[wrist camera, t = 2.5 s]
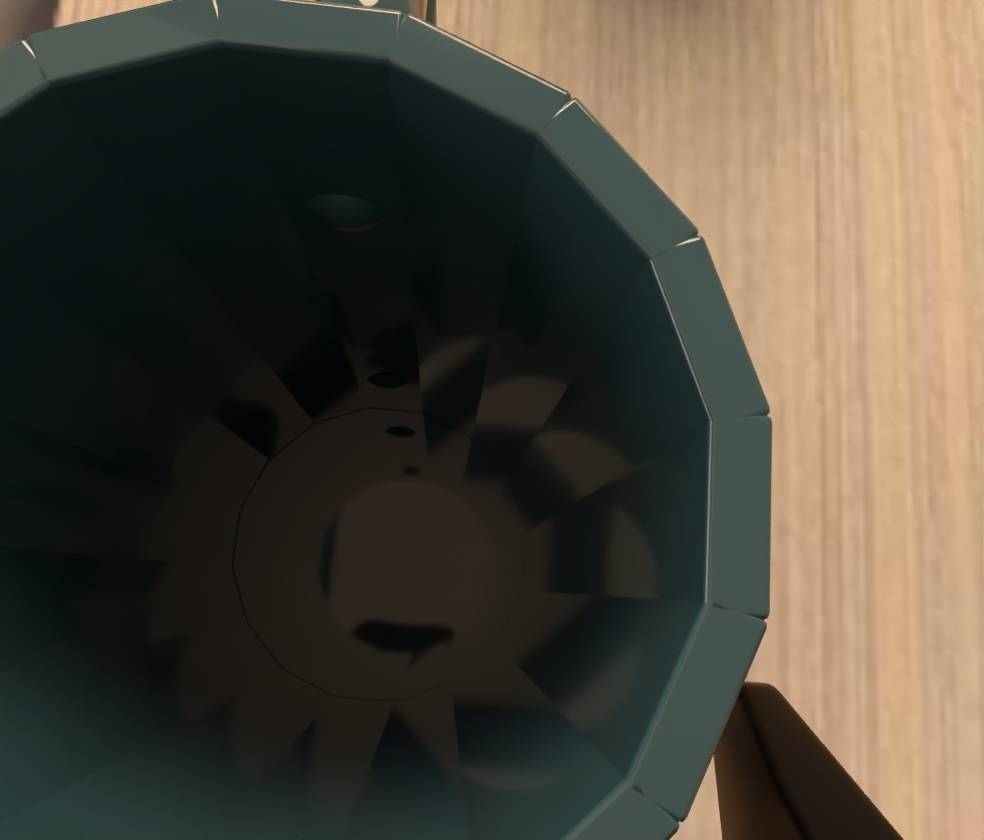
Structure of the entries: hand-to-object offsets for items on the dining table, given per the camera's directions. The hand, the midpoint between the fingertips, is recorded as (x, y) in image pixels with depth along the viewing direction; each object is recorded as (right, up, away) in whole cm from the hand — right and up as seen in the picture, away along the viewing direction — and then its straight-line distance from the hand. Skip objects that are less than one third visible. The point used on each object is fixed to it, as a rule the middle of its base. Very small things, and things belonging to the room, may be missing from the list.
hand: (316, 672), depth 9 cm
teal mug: (0, +2, +9) cm, 10 cm away
